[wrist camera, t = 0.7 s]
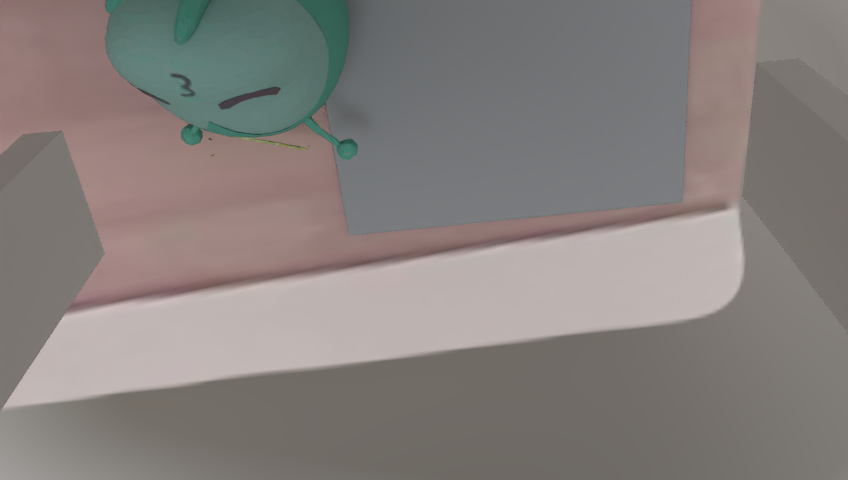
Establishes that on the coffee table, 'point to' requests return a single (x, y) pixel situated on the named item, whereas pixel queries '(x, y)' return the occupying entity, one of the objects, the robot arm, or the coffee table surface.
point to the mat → (509, 109)
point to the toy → (233, 62)
